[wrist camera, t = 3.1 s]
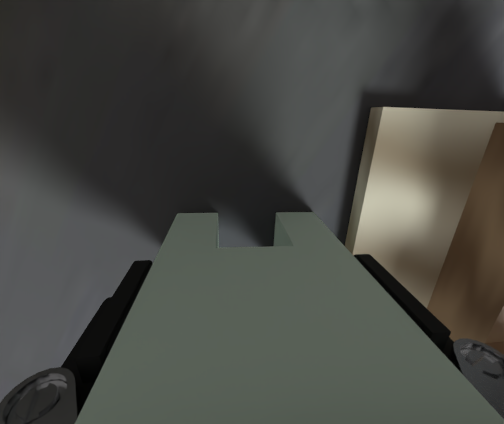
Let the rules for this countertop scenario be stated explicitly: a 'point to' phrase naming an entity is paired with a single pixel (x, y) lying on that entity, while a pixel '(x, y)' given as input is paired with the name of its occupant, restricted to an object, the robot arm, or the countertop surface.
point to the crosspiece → (273, 340)
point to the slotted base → (437, 212)
